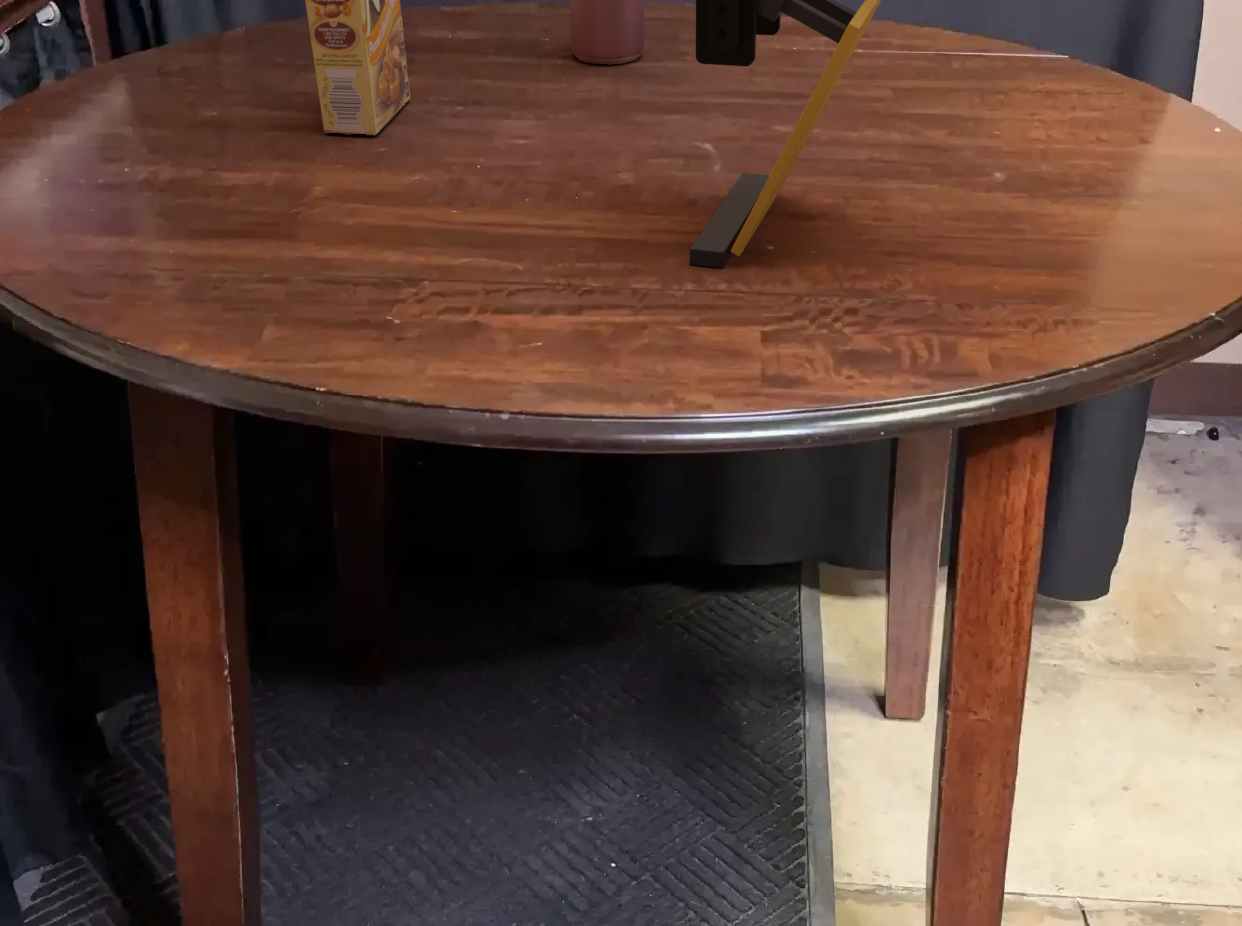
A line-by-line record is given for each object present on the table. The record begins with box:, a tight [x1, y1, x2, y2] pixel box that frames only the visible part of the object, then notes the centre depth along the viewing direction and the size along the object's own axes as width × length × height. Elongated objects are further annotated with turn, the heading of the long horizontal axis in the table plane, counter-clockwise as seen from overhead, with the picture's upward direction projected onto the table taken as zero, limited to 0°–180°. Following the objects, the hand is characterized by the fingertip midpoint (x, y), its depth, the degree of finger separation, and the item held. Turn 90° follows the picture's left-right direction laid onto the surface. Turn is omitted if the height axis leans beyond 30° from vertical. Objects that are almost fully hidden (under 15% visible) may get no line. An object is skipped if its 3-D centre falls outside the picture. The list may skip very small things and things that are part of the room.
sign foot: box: [689, 172, 770, 269], centre depth 85 cm, size 2×13×1 cm, turn 163°
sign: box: [731, 0, 882, 257], centre depth 80 cm, size 14×12×6 cm
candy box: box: [304, 0, 411, 137], centre depth 98 cm, size 9×4×15 cm, turn 171°
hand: (739, 44), depth 79 cm, fingers closed on sign, 5 cm apart
